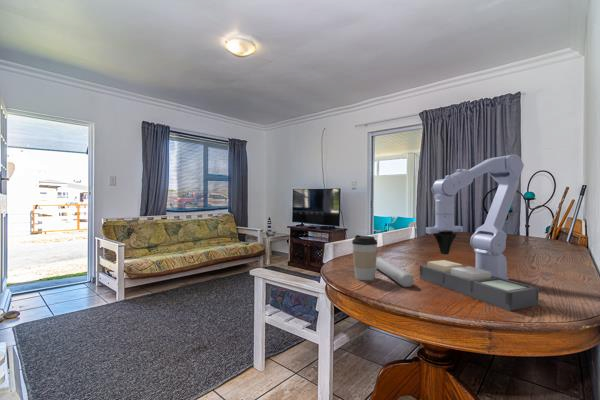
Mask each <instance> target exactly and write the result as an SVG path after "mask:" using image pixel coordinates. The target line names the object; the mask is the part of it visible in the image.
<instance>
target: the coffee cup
mask: <svg viewBox="0 0 600 400" xmlns="http://www.w3.org/2000/svg"><path fill="white" fill-rule="evenodd" d="M351 241H352V242H351V244H352V257H353V258H352V261H353V266H354V277H355V279H356V280H360V281H373V280H375V275H376V268H375V267H376V258H377V257H378V256H377V255H378V249H377V248H378V240H377V239H375V236H370V235H360V234H359V235H358V234H356V235H355V236H354V239H352V240H351Z"/></svg>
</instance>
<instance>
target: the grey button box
mask: <svg viewBox="0 0 600 400" xmlns="http://www.w3.org/2000/svg"><path fill="white" fill-rule="evenodd" d="M419 279H420V280H422V279H423V280H422V281H426V282H428V283H431V284H434V285H436V286H439V287H442V288H444V289H448V290H451V291H453V292H456V293H459V294H461V295H464V296H466V297H470V298H473V299H475V300H478V301H481V302H484V303H487V304H489V305H491V306H495V307H498V308H501V309H502V310H506V311H508V312H511V311H516V309H517V310H522V309H526V307H527V308H531V307H530V306H532V307H536V306H535V305H537V306H539V287H536V286H532V285H528V284H525V283H521V282H518V281H514V280H510V279H507V280H506V279H503V278H499V277H495V276H491V278H488V279H481V280H474V281H473V280H469V279H466V278H463V277H459V276H456V275H453V274H451V272H443V271H439V270H436V269H433V268H429V267H427V264H424V265H419ZM494 280H502V281H506V282H509V283H513V284H517V285H520V286H524V287H527V288H524V289H518V290H512V291H506V290H503V289H499V288H496V287H493V286H489V285H486V284H483V283H480V282H487V281H494ZM521 308H522V309H521Z"/></svg>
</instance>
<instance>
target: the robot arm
mask: <svg viewBox="0 0 600 400" xmlns="http://www.w3.org/2000/svg"><path fill="white" fill-rule="evenodd" d="M524 167H525V164H524V162H523V160H522V157H520V156H519V155H518V154H515V153H512V154H508V155H504V156H496V157H490V158H488V159H485V160H483V161H482V162H480V163H477V165H475V166H473V167H471V168H469V169H465V168H463V169H462V168H458V169H456V170H455V172H454V173H452V174H447V175H445V176H444V178H441V179H437V180H435V181H434V183H433V184H432V187H431V189H430V190H431V192H432V194H433V196H434V201H435V203H434V205H435V207H434V208H435V209H434V213H435V217H434V218H435V219H434V220H435V222H434V226H427V227H425V234H429V235H432V234H433V236H434V238H435V239H436V243H437V245H438V248H439V251H440V254H442V255H449V253H450V251H451V247H452V244H453V241H454V240H455V238H456V237H457V232H458V233H462V232H463V233H464V226H461V225H455V195H457V193H458V191H459V190H462V189H463V188H465V187H467V186H469V185H471V184H472V183H473V181H474V179H475V178H478V177H481V176H482V175H484V174H486V173H488V174H489V175H490V177H492V178H491V179H493V181H495V182H496V183H497V184H498V187H497V189H496V192H495V194H494V198H493V200H492V202H491V204H490V208H489V210H488V214H487V216H486V219H485V221H484V224H482V225H480V226H479V227H477V228H476V229H475V232H474V233H473V234H472V235H471V237H470V240H469V243H470V246H471V248H472V249H473V252H475V268H478V269H482V270H486V271H490V272H491V276H495V277H499V278H503V279H506V280H510V277H508V275H507V273H508V272H507V271H508V270H507V266H508V265H507V257H506V256H505V255H504V254H503V253H504V251H505V249H506V247H507V241H506V240H507V237H508V235H507V234H506V232H505V231H504V230H503V228H504V224H505V222H506V219H507V216H508V214H509V211H510V209H511V206H512V203H513V200H514V198H515V195H516V192H517V189H518V187H519V183H520V177H521V175H522V172H523V169H524Z"/></svg>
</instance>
